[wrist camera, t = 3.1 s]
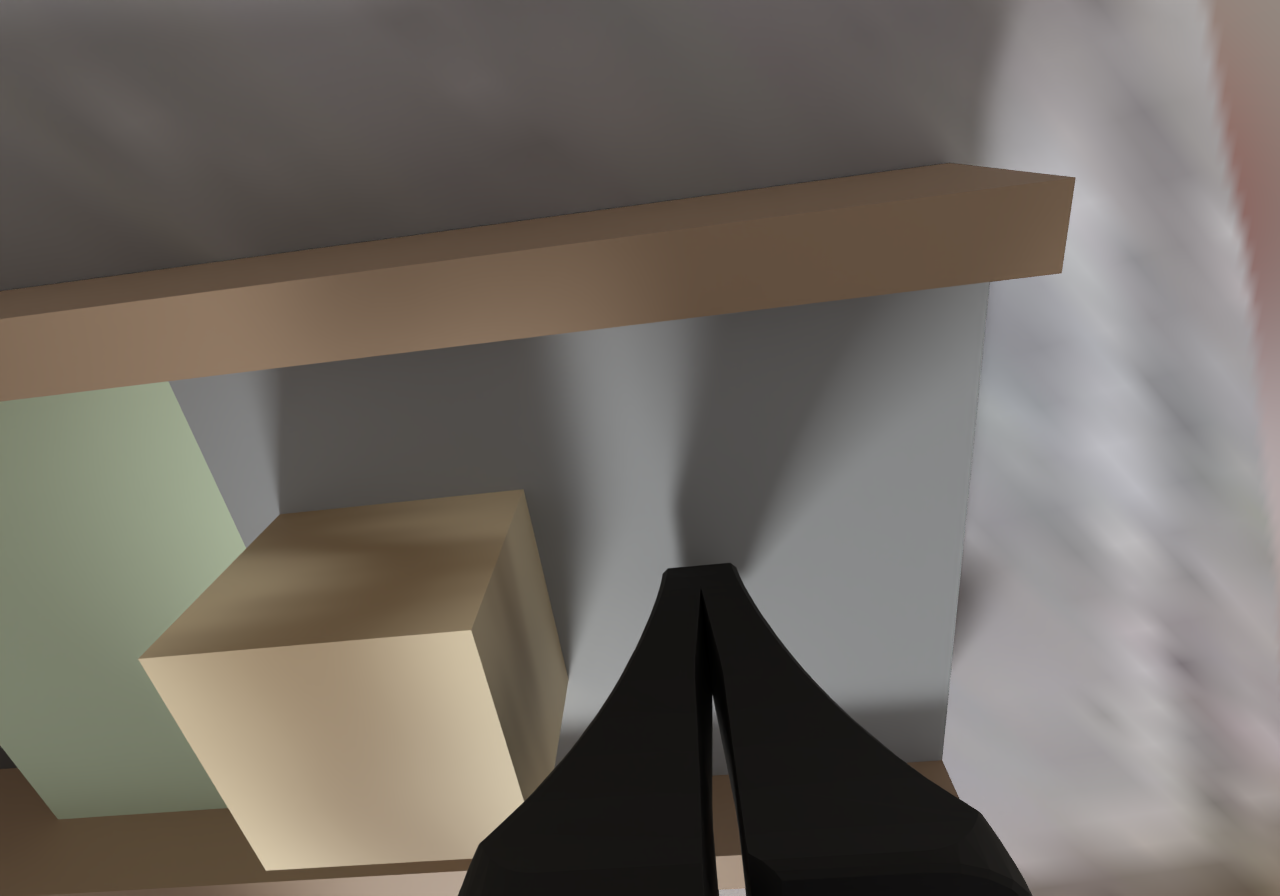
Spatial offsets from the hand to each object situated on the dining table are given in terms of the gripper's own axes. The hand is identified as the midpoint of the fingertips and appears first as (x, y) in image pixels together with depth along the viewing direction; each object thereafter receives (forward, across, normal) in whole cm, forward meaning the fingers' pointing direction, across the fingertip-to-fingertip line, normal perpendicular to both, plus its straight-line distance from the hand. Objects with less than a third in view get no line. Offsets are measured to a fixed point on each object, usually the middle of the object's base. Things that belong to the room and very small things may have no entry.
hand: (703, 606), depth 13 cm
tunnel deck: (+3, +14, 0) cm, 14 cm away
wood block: (+1, +6, 0) cm, 6 cm away
